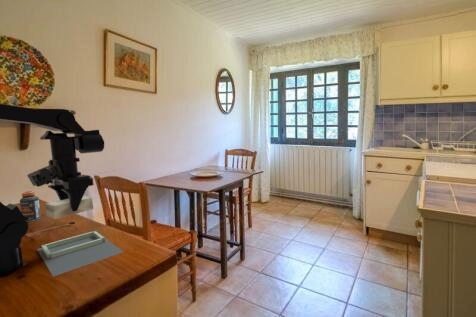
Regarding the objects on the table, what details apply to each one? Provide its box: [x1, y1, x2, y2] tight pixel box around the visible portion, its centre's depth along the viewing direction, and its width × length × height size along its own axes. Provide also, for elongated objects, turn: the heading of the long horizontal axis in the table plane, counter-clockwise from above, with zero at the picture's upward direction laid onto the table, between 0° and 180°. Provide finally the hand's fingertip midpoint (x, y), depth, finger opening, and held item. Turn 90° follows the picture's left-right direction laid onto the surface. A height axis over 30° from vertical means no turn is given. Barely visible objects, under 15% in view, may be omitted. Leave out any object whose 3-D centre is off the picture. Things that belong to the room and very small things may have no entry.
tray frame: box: [41, 230, 106, 259], centre depth 78 cm, size 9×14×1 cm, turn 134°
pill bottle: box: [19, 190, 42, 223], centre depth 106 cm, size 6×6×11 cm
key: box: [24, 221, 77, 238], centre depth 94 cm, size 6×1×15 cm
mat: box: [36, 236, 124, 278], centre depth 74 cm, size 22×16×1 cm
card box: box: [44, 195, 94, 220], centre depth 77 cm, size 10×6×4 cm, turn 143°
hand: (70, 209), depth 77 cm, fingers closed on card box, 5 cm apart
